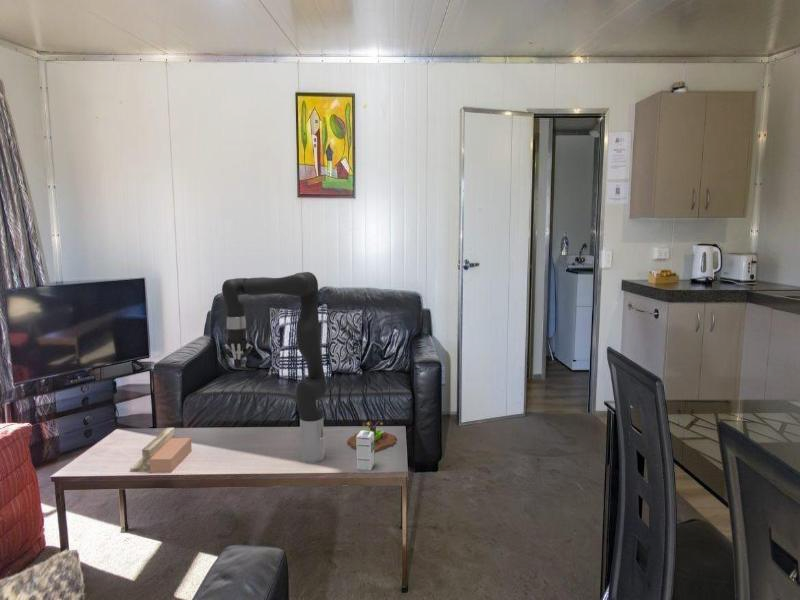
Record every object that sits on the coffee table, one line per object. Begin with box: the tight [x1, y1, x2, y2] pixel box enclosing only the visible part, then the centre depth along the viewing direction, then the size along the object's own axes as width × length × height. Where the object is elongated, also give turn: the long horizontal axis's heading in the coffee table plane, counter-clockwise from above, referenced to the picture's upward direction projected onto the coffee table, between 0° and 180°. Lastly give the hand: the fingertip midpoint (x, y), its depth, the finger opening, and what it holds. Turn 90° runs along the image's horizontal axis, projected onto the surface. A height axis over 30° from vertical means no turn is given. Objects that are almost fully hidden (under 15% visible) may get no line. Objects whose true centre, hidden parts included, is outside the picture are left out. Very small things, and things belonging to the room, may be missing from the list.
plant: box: [346, 420, 398, 454], centre depth 221 cm, size 20×20×11 cm
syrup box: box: [356, 430, 376, 471], centre depth 197 cm, size 6×6×14 cm
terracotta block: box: [149, 437, 192, 474], centre depth 204 cm, size 8×20×6 cm, turn 1°
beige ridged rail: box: [129, 427, 176, 473], centre depth 205 cm, size 8×22×9 cm, turn 1°
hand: (238, 367), depth 213 cm, fingers closed
